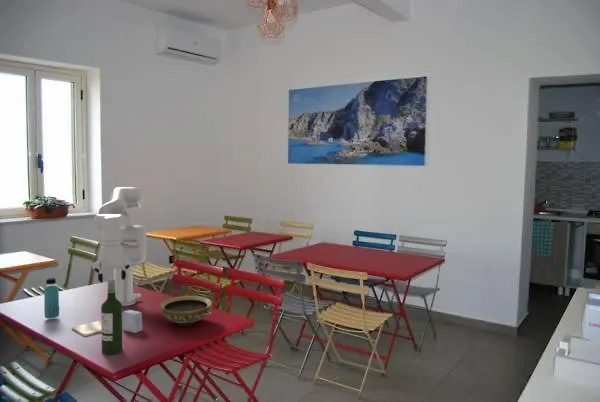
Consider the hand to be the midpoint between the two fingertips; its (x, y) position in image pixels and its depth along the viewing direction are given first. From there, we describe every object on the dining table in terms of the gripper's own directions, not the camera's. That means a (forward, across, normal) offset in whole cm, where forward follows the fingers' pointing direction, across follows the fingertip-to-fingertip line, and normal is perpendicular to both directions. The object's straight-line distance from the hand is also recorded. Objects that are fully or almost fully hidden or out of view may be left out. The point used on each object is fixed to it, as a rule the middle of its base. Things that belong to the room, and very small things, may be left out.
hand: (112, 280), depth 220 cm
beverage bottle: (+23, +21, -30) cm, 43 cm away
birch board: (+23, +8, -5) cm, 24 cm away
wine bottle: (+23, +7, +26) cm, 35 cm away
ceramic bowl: (+23, -32, +10) cm, 40 cm away
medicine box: (+23, -7, +6) cm, 25 cm away
